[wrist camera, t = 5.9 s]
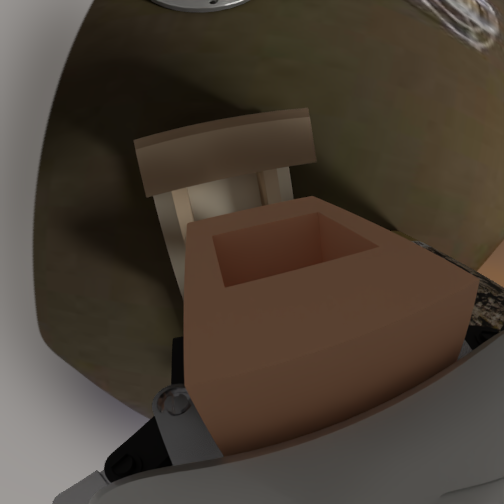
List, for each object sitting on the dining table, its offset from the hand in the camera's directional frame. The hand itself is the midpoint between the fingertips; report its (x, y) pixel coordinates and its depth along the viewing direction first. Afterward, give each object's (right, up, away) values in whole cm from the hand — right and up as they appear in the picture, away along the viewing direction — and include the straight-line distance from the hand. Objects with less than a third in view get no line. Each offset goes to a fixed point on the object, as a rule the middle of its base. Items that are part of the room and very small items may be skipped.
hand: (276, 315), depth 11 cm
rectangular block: (0, 0, +1) cm, 2 cm away
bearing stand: (-2, -1, +16) cm, 16 cm away
